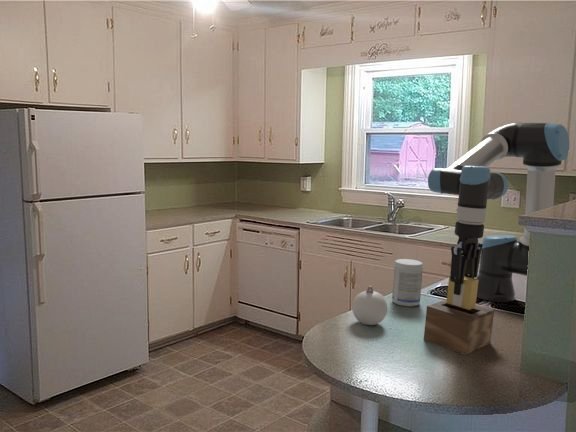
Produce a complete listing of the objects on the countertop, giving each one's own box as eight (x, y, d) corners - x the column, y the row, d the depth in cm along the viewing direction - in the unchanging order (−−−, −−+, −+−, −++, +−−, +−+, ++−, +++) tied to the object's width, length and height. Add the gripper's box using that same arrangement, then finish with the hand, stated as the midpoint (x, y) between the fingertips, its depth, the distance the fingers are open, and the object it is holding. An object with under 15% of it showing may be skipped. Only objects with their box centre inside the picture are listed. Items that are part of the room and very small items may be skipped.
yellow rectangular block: (452, 300, 155) (455, 274, 154) (475, 307, 150) (478, 279, 149) (446, 302, 152) (449, 275, 151) (468, 309, 147) (472, 281, 146)
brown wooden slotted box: (449, 329, 162) (452, 297, 161) (490, 343, 153) (494, 309, 151) (423, 339, 153) (426, 305, 151) (465, 355, 143) (469, 319, 142)
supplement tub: (425, 305, 185) (429, 263, 183) (405, 308, 180) (409, 266, 178) (405, 297, 193) (408, 257, 191) (385, 300, 188) (389, 259, 186)
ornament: (360, 331, 157) (363, 291, 155) (346, 319, 166) (348, 281, 164) (391, 328, 160) (395, 290, 158) (375, 317, 170) (378, 280, 168)
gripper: (472, 218, 156) (463, 296, 159) (441, 222, 145) (433, 305, 148) (497, 222, 150) (487, 302, 154) (467, 226, 139) (458, 313, 143)
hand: (461, 304), depth 151 cm, fingers closed on yellow rectangular block, 3 cm apart
